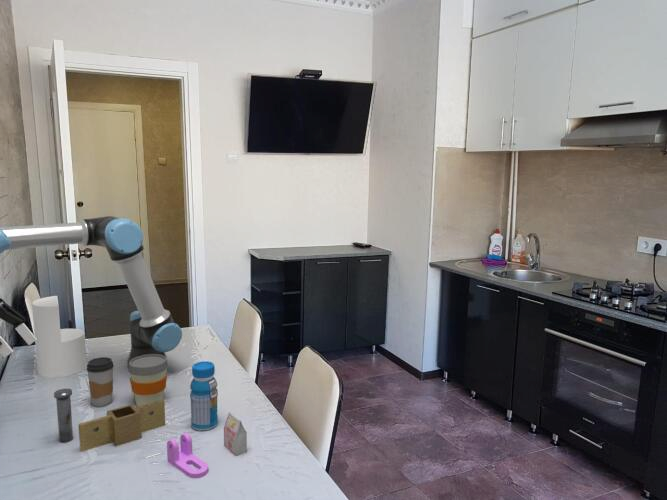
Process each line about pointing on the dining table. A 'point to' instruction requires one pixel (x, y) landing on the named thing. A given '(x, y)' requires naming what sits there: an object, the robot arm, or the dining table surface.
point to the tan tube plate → (121, 425)
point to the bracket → (185, 457)
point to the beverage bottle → (203, 396)
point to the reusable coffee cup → (148, 378)
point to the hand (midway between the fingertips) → (21, 348)
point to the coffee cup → (100, 381)
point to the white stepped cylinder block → (56, 341)
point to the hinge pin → (64, 414)
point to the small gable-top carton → (235, 435)
